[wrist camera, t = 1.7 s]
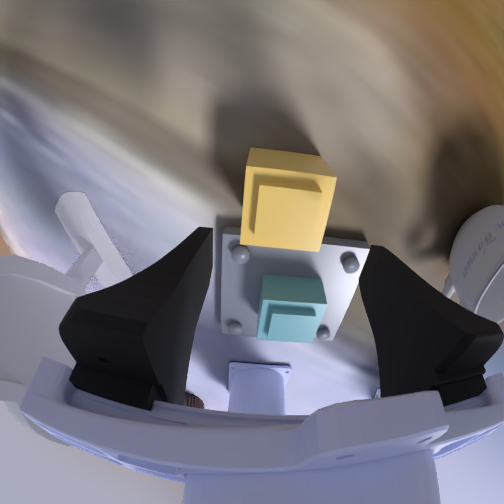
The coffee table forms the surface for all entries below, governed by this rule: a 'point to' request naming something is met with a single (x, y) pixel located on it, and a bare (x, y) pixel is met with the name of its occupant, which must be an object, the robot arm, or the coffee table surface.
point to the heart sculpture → (49, 301)
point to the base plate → (290, 263)
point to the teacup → (479, 264)
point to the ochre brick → (286, 199)
